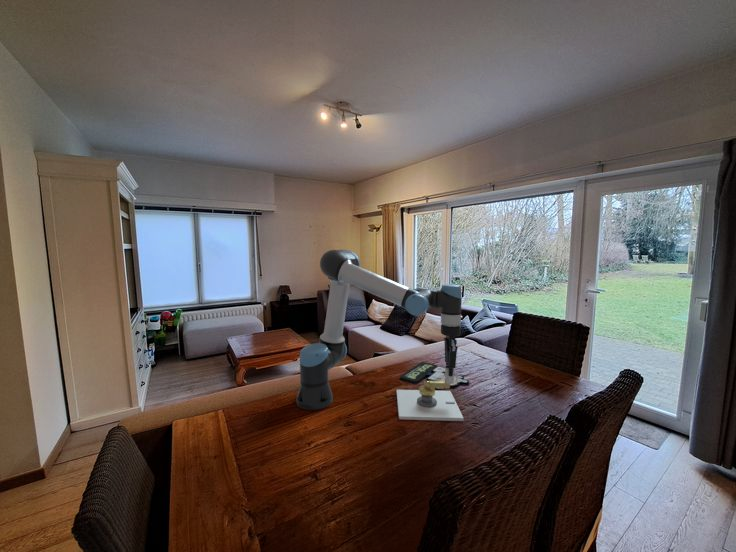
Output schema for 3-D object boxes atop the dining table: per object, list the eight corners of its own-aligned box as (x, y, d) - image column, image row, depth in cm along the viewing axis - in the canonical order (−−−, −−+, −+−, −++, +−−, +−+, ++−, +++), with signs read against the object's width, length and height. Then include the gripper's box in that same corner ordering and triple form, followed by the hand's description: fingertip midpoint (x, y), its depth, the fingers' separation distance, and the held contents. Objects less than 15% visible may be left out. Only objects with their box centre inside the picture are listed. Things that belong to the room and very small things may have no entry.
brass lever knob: (420, 396, 119) (420, 370, 118) (418, 389, 125) (418, 364, 124) (452, 397, 118) (453, 371, 117) (449, 389, 124) (449, 365, 124)
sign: (422, 361, 168) (476, 374, 150) (422, 364, 168) (475, 377, 150) (397, 377, 147) (456, 394, 129) (397, 380, 147) (456, 398, 129)
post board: (399, 419, 112) (399, 406, 112) (396, 392, 134) (396, 381, 133) (463, 421, 111) (463, 408, 110) (450, 393, 133) (450, 382, 132)
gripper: (465, 328, 109) (463, 390, 111) (456, 320, 122) (455, 376, 124) (444, 328, 109) (443, 390, 111) (438, 320, 122) (437, 375, 124)
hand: (449, 382), depth 117 cm, fingers closed
